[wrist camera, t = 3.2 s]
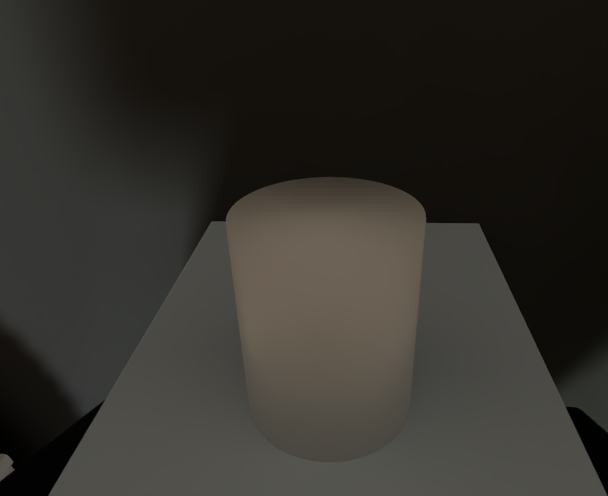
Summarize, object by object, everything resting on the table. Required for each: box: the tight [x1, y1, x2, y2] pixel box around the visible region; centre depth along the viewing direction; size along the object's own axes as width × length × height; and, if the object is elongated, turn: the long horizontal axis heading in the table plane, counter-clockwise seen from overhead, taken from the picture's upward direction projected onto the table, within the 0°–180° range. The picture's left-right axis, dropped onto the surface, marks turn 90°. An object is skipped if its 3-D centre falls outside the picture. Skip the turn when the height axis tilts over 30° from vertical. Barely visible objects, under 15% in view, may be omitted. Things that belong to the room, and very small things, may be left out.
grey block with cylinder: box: [48, 177, 607, 496], centre depth 7 cm, size 4×8×6 cm, turn 2°
